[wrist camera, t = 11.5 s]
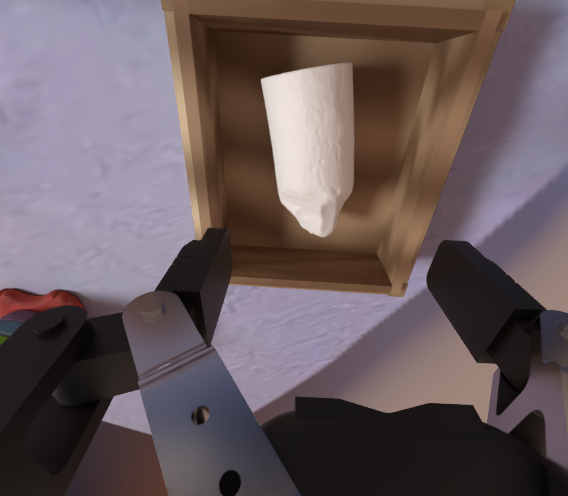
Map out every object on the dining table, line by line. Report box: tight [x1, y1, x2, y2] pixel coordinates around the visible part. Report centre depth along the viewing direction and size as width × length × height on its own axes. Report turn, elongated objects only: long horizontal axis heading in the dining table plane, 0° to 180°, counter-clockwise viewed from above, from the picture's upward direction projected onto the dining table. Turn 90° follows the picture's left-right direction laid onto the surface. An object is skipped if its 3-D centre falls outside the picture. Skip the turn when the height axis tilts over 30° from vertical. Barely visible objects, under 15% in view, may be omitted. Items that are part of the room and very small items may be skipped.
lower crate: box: [161, 0, 516, 297], centre depth 22 cm, size 20×18×6 cm
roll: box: [261, 62, 355, 237], centre depth 20 cm, size 6×12×6 cm, turn 8°
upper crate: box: [172, 0, 503, 294], centre depth 21 cm, size 19×17×6 cm
